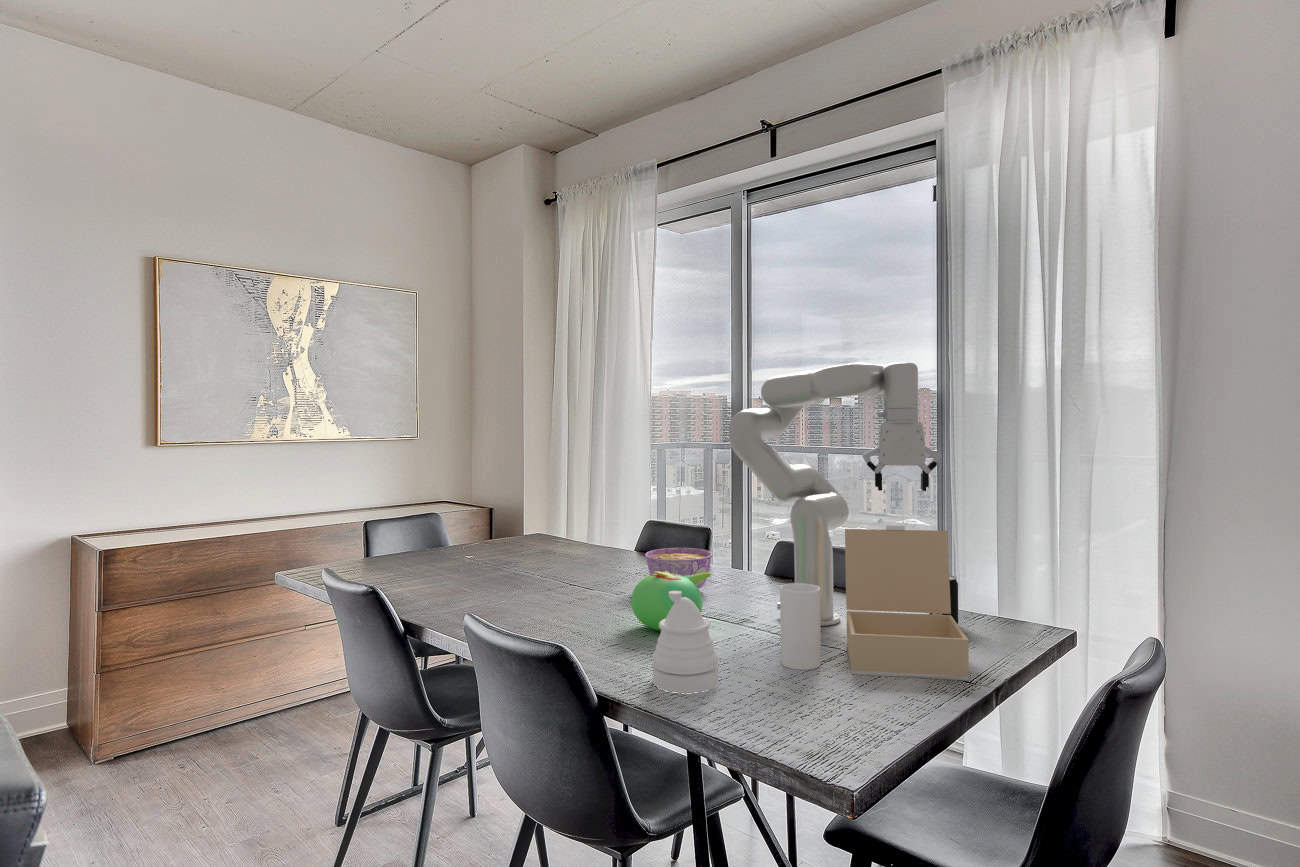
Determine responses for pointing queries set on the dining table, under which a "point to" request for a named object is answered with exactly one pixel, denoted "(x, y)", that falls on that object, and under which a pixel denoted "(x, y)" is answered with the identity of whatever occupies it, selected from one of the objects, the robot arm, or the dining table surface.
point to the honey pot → (684, 650)
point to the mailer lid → (897, 570)
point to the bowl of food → (679, 561)
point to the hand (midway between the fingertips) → (901, 490)
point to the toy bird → (663, 595)
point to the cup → (800, 626)
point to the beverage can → (952, 599)
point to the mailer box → (907, 645)
